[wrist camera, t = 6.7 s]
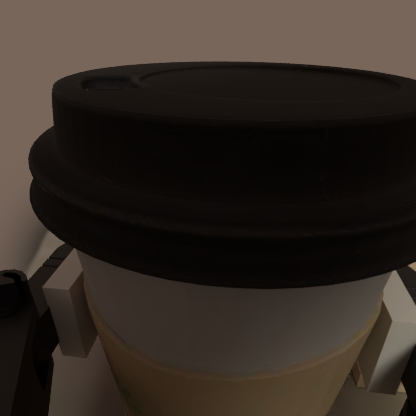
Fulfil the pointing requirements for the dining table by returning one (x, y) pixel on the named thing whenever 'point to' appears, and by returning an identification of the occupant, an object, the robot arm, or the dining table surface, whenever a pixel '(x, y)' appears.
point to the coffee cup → (231, 224)
